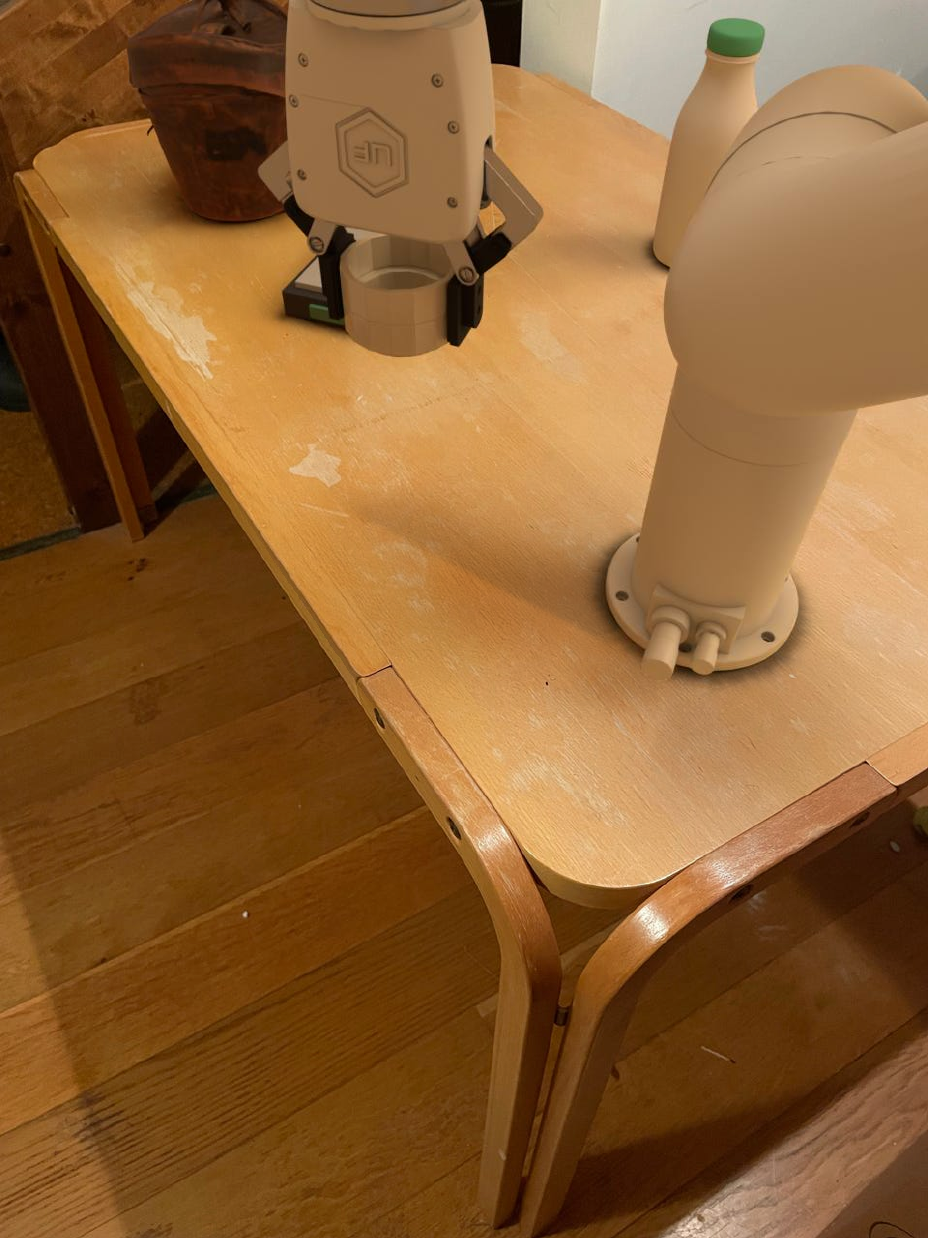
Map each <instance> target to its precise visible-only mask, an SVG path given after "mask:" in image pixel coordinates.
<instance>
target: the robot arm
mask: <svg viewBox="0 0 928 1238" xmlns="http://www.w3.org/2000/svg"><path fill="white" fill-rule="evenodd" d="M287 11H288V20H287V37H286V67H285V91H286V117H287V135H288V140H287V141H285V142H284V143H283V144H282V145H281V146H280V147H279V148H278V149H277V150H276V151H275V152H274V153H273V154H272V155H271V156H270V157H269V158H268V159H267V160H266V161H264V162H263V163H262V164H261V165H260V166H259V168H258V173H259V176H260V178H261V179H262V181H263V182H264V183H265V184H266V186H267V187H268V188H269V189H270V191H271V192H272V193H273V194H274V196H275V197H276V198H277V199H278V201H279V202H280V201H281V202H282V203H283V204H284V210H283V211H284V213H285V214H286V216H287V217H288V218H289V219H290V221H292V223H294V224H295V226H296V227H297V228H298V229H299V231H301V233H303V235H304V236H305V237H306V238H307V239H306V245H307V247H308V249H309V250H310V252H312V253H313V254H314V255H315V256H316V255H318V260H319V269H320V277H321V285H322V293H323V295H324V296H325V297H327V304H328V313H329V318H330V319H333V320H338V321H339V320H340V319H343V318H344V316H345V315H344V305H343V296H342V286H341V276H340V257H341V255H342V253H343V252H344V251H345V250H346V249H347V248H348V247H349V245H351V244H352V243H354V242H356V240H355V239H354V234H352V233H347V230H346V228H347V227H350V228H355V229H360V230H365V231H370V232H375V233H380V234H385V235H390V236H395V237H401V238H406V239H411V240H416V241H422V242H428V243H434V244H442V245H443V248H444V250H445V252H446V254H447V256H448V259H449V261H450V263H451V265H452V267H453V269H454V272H455V274H454V275H453V277H452V278H451V280H450V281H449V283H448V285H447V342H448V344H449V346H453V347H457V348H460V347H461V345H462V344H463V342H464V340H466V337H467V336H468V334H469V332H470V331H471V330H472V329H474V330H475V329H478V327H479V326H480V323H481V321H482V318H483V314H484V297H485V296H484V295H485V293H484V292H485V274H486V273H487V272H489V270H491V269H492V268H493V267H495V266H497V264H499V263H500V262H501V261H503V260H504V259H505V258H506V257H507V256H508V254H509V253H510V252H511V251H513V250H514V249H515V248H517V246H519V244H520V243H522V242H523V241H524V240H525V239H526V238H528V236H530V235H531V234H532V233H533V232H534V231H535V230H536V229H537V227H538V226H539V224H540V222H541V221H542V219H543V217H544V209H543V207H542V205H541V204H540V203H539V202H538V201H537V200H536V199H535V197H534V196H533V195H532V194H531V193H530V192H529V190H528V189H527V187H525V186H524V185H523V184H522V182H521V181H520V179H518V178H517V177H516V175H515V174H514V173H513V172H512V171H511V170H510V168H509V167H508V166H507V165H506V164H505V163H504V161H502V159H501V158H500V157H499V156H498V155H497V138H496V137H497V135H496V134H497V133H496V130H497V129H496V108H495V106H496V105H495V93H494V79H493V78H494V77H493V69H492V61H491V60H492V59H491V51H490V43H489V36H488V30H487V24H486V18H485V17H486V16H485V11H484V6H483V3H482V1H481V0H288V9H287ZM492 203H493V204H494V205H495V206H496V207H497V209H498V210H499V211H500V212H501V213H502V215H503V216H504V220H505V221H504V222H503V223H502V224H500V225H498V226H497V227H496V228H495V229H493V230H492V231H490V233H489V234H487V233H486V230H485V228H484V226H483V223H482V222H481V219H480V217H479V214H480V211H482V210H484V209H486V208H488V207H489V206H491V204H492ZM663 323H664V331H665V335H666V339H667V342H668V346H669V348H670V350H671V353H672V356H673V358H674V359H675V362H676V363H677V365H676V370H675V375H674V378H673V383H672V388H671V391H670V396H669V400H668V405H667V409H666V414H665V418H664V424H663V426H662V431H661V436H660V440H659V445H658V450H657V455H656V458H655V463H654V468H653V471H652V472H653V473H652V478H651V482H650V487H649V490H648V494H647V495H648V496H647V500H646V505H645V508H644V513H643V518H642V522H641V527H640V530H639V531H638V532H636V533H635V534H633V535H631V536H629V538H628V539H626V540H625V541H624V542H623V543H622V544H621V545H620V546H619V547H618V548H617V550H616V551H615V553H614V554H613V556H612V558H611V560H610V562H609V565H608V568H607V572H606V573H607V574H606V579H605V598H606V601H607V605H608V608H609V611H610V612H611V614H612V616H613V618H614V619H615V622H616V624H617V625H618V626H619V627H620V628H621V630H622V631H623V632H624V633H625V635H626V636H627V637H628V638H630V639H631V640H632V641H633V642H634V643H636V644H637V645H638V646H639V647H640V648H642V649H643V650H644V654H643V656H642V660H641V664H640V666H639V668H640V670H641V673H642V674H643V675H644V676H646V677H647V678H649V679H652V680H655V681H665V680H668V679H671V676H673V673H674V671H675V670H674V669H675V666H676V665H677V666H681V667H685V668H688V669H692V671H693V672H695V673H697V674H698V675H703V676H706V675H710V674H712V673H713V672H714V671H715V672H717V671H732V670H733V671H734V670H737V669H743V668H747V667H750V666H753V665H755V664H758V663H760V662H762V661H764V660H766V659H768V658H769V657H770V656H772V655H773V654H774V653H776V652H777V651H779V649H780V648H781V647H782V646H783V645H784V644H785V643H786V642H787V640H788V638H789V636H790V634H791V633H792V631H793V628H794V626H795V624H796V621H797V618H798V615H799V601H800V600H799V595H798V590H797V586H796V584H795V582H794V579H793V577H792V575H791V573H790V570H791V568H792V566H793V563H794V561H795V559H796V556H797V554H798V551H799V549H800V547H801V545H802V542H803V540H804V538H805V535H806V532H807V530H808V528H809V526H810V523H811V521H812V519H813V516H814V513H815V511H816V509H817V507H818V504H819V502H820V500H821V497H822V495H823V492H824V490H825V488H826V485H827V482H828V480H829V478H830V475H831V473H832V471H833V468H834V466H835V464H836V462H837V459H838V457H839V455H840V452H841V449H842V448H843V445H844V443H845V441H846V440H847V438H848V435H849V433H850V432H851V428H852V427H853V423H854V421H855V419H856V417H857V415H858V412H859V410H860V409H866V408H870V407H876V406H881V405H886V404H891V403H896V402H900V401H905V400H911V399H916V398H920V397H921V398H922V397H925V396H928V100H927V99H926V98H925V96H924V95H923V94H922V93H921V92H920V90H919V89H918V88H916V87H915V86H914V85H913V84H912V83H910V82H909V81H908V80H906V79H904V78H903V77H901V76H900V75H898V74H896V73H894V72H891V71H889V70H886V69H884V68H880V67H875V66H871V65H865V64H864V65H863V64H843V65H836V66H832V67H826V68H822V69H820V70H817V71H813V72H810V73H807V74H806V75H803V76H802V77H799V78H798V79H796V80H794V81H793V82H792V81H791V83H789V84H788V85H786V86H784V87H783V88H781V89H780V90H779V91H778V92H776V93H775V94H773V95H772V96H771V97H770V98H769V99H768V100H767V101H766V102H764V103H763V104H762V105H761V106H760V108H758V111H757V112H756V113H755V114H754V115H753V116H752V117H751V119H750V120H749V121H748V122H747V123H746V125H745V126H744V127H743V129H742V130H741V132H740V133H739V134H738V136H737V137H736V139H735V140H734V142H733V144H732V145H731V147H730V148H729V150H728V152H727V154H726V156H725V157H724V159H723V161H722V163H721V164H720V166H719V168H718V170H717V172H716V173H715V175H714V177H713V179H712V181H711V183H710V185H709V187H708V189H707V191H706V193H705V195H704V198H703V200H702V202H701V203H700V205H699V207H698V209H697V211H696V212H695V214H694V216H693V218H692V220H691V221H690V223H689V225H688V227H687V229H686V230H685V232H684V235H683V237H682V239H681V241H680V243H679V245H678V248H677V251H676V253H675V256H674V258H673V261H672V263H671V266H670V267H669V270H668V274H667V278H666V283H665V288H664V297H663Z"/></svg>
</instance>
